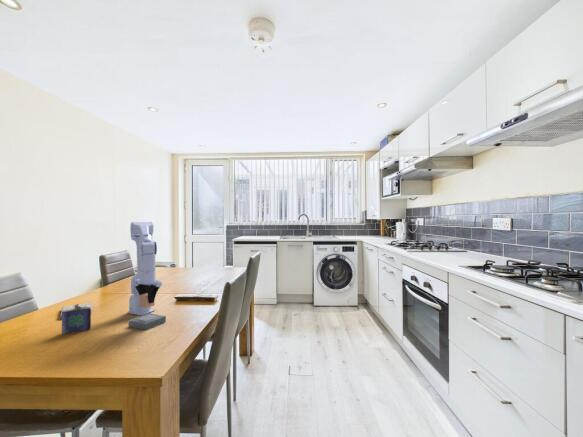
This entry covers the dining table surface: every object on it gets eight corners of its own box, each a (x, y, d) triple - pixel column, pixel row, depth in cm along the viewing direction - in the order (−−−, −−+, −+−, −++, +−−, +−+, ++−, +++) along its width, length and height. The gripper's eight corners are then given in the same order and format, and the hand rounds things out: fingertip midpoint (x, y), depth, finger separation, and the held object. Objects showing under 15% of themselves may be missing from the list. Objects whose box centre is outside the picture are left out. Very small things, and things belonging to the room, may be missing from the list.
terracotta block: (139, 306, 117) (139, 295, 117) (147, 304, 121) (148, 292, 121) (146, 308, 116) (146, 296, 116) (154, 305, 119) (154, 293, 119)
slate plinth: (128, 326, 116) (128, 319, 116) (149, 318, 125) (149, 312, 125) (145, 330, 112) (145, 323, 112) (165, 321, 121) (165, 315, 121)
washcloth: (60, 321, 123) (60, 314, 123) (60, 311, 137) (60, 305, 137) (93, 315, 131) (93, 309, 131) (90, 306, 144) (90, 300, 144)
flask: (60, 335, 107) (61, 307, 107) (62, 332, 109) (62, 305, 110) (90, 330, 112) (90, 303, 112) (91, 328, 114) (91, 301, 114)
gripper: (127, 270, 118) (127, 302, 118) (151, 273, 112) (151, 306, 112) (142, 268, 124) (142, 298, 124) (165, 270, 118) (165, 302, 118)
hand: (147, 302), depth 118 cm, fingers closed on terracotta block, 4 cm apart
